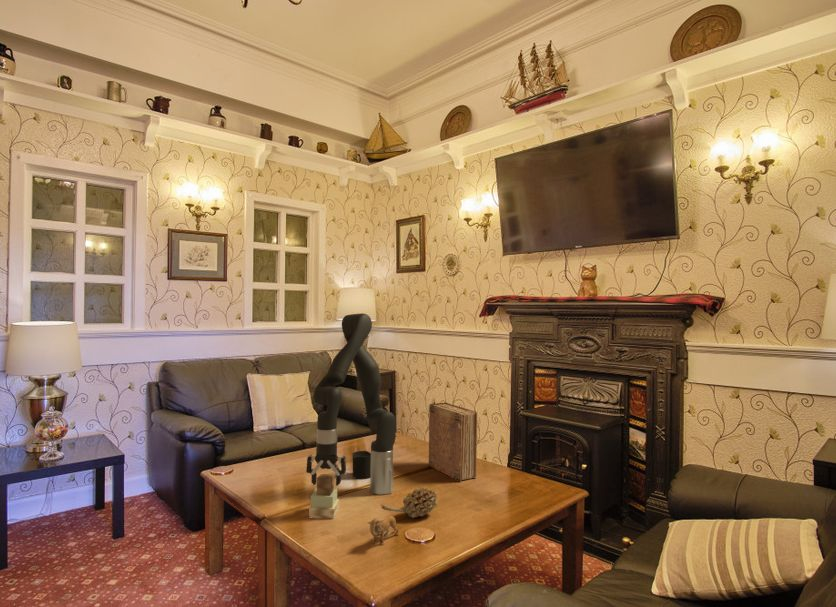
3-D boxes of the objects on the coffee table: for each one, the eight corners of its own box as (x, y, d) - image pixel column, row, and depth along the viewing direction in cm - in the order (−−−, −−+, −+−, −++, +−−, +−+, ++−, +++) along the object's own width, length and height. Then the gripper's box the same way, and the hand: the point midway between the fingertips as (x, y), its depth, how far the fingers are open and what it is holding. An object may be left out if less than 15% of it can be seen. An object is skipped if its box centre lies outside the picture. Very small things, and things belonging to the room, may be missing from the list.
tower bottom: (338, 509, 189) (339, 499, 189) (333, 519, 180) (333, 508, 180) (315, 508, 189) (315, 498, 189) (309, 518, 180) (309, 507, 180)
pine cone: (430, 508, 191) (431, 482, 191) (442, 517, 182) (442, 490, 182) (376, 517, 182) (376, 490, 182) (385, 528, 173) (386, 499, 173)
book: (476, 478, 224) (477, 411, 225) (460, 482, 219) (461, 413, 220) (444, 463, 246) (445, 402, 246) (428, 466, 241) (429, 403, 241)
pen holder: (374, 473, 230) (375, 451, 230) (370, 480, 220) (371, 457, 220) (354, 472, 231) (355, 450, 231) (349, 479, 221) (350, 456, 221)
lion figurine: (380, 551, 156) (380, 522, 156) (365, 547, 159) (366, 519, 159) (401, 532, 170) (402, 506, 170) (388, 529, 172) (388, 503, 172)
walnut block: (333, 490, 186) (333, 474, 186) (330, 495, 181) (330, 479, 181) (320, 490, 187) (320, 473, 187) (316, 495, 182) (316, 478, 182)
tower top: (337, 499, 188) (337, 488, 188) (332, 507, 180) (332, 496, 180) (316, 498, 189) (316, 488, 189) (310, 507, 181) (310, 496, 181)
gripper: (348, 438, 188) (347, 482, 187) (310, 437, 189) (309, 480, 188) (343, 444, 180) (342, 489, 180) (304, 442, 181) (303, 487, 181)
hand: (326, 484), depth 184 cm, fingers open, 8 cm apart
